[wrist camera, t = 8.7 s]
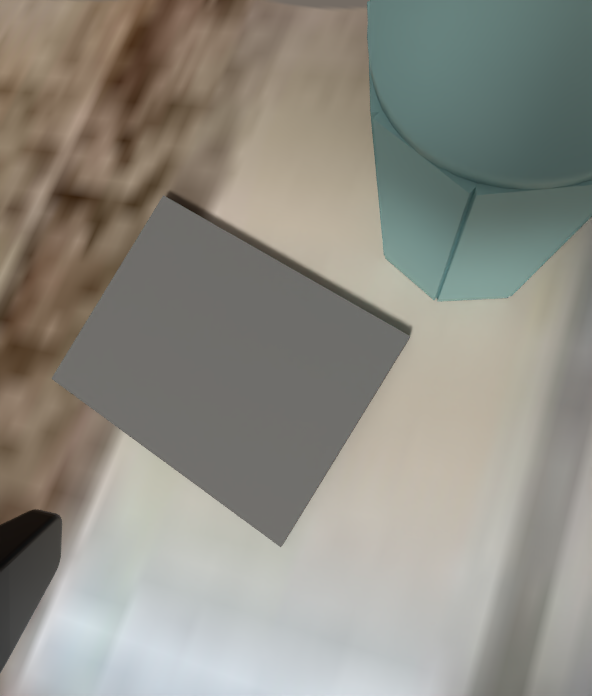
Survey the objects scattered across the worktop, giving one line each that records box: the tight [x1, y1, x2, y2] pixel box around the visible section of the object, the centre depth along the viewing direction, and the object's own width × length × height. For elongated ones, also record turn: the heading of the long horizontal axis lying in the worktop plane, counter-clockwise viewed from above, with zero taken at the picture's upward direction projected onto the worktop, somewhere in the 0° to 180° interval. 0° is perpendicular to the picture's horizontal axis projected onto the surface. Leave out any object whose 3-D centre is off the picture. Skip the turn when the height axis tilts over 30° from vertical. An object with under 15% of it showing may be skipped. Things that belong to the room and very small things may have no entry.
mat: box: [52, 195, 410, 547], centre depth 22 cm, size 13×10×1 cm
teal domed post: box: [367, 0, 592, 301], centre depth 15 cm, size 7×7×11 cm
